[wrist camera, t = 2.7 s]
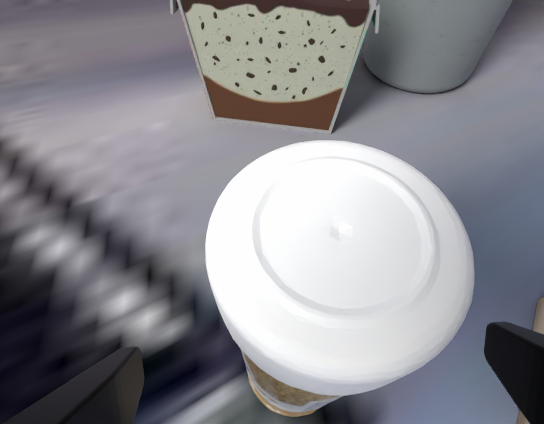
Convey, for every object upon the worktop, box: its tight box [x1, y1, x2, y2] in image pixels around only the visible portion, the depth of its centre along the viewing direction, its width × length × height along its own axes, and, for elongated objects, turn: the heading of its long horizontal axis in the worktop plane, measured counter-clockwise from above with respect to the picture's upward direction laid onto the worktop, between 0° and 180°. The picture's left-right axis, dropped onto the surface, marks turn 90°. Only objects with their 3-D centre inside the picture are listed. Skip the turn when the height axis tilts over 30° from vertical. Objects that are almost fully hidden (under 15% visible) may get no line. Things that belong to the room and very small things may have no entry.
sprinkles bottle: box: [205, 140, 475, 417], centre depth 11 cm, size 5×5×13 cm
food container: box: [170, 0, 380, 134], centre depth 24 cm, size 12×6×10 cm, turn 80°
